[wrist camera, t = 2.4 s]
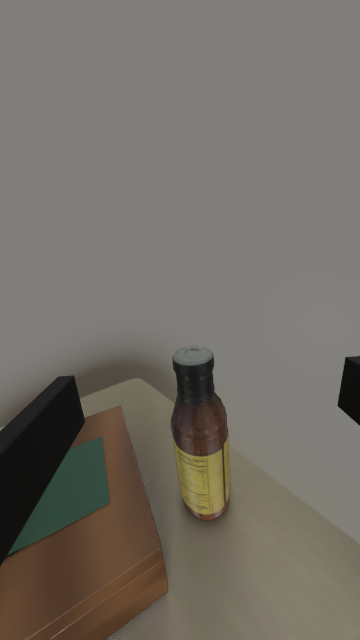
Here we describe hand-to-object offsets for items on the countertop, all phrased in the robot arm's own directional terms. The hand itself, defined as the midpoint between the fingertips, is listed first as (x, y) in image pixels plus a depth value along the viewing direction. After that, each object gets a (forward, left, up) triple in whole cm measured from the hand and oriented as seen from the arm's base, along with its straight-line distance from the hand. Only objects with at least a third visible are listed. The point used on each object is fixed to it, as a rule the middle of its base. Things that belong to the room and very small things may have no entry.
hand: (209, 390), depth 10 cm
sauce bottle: (-4, -9, -22) cm, 25 cm away
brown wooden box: (+10, -14, -22) cm, 28 cm away
